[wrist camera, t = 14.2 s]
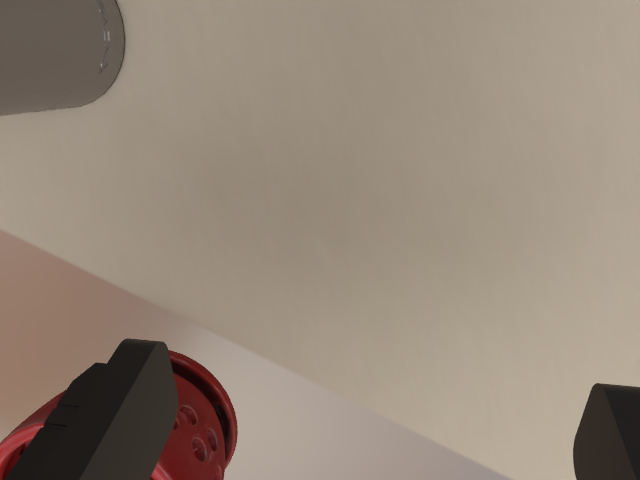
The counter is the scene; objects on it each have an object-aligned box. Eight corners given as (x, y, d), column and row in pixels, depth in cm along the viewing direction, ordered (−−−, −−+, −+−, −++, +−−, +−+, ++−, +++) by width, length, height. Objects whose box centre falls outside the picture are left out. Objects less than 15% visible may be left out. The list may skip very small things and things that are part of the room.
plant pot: (230, 504, 45) (158, 652, 33) (82, 436, 46) (-36, 557, 34) (280, 371, 40) (217, 491, 29) (115, 299, 41) (-8, 388, 30)
